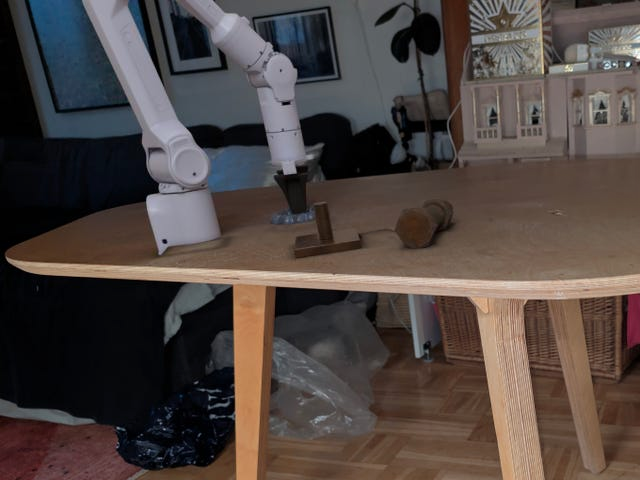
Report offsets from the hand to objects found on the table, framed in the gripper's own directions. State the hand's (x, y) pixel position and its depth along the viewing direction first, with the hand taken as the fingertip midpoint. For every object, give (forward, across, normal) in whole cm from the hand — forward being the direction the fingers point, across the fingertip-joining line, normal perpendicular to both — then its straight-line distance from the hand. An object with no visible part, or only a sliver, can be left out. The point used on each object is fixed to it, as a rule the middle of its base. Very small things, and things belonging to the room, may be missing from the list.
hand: (300, 212), depth 122 cm
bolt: (+2, -28, -19) cm, 34 cm away
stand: (+2, -25, -4) cm, 25 cm away
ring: (0, -4, 0) cm, 4 cm away
